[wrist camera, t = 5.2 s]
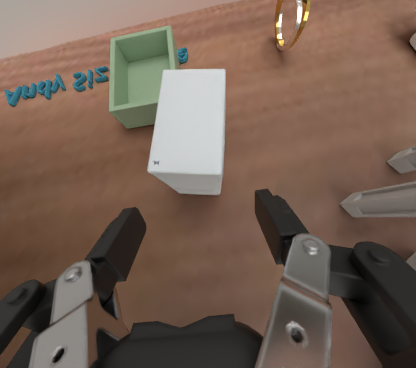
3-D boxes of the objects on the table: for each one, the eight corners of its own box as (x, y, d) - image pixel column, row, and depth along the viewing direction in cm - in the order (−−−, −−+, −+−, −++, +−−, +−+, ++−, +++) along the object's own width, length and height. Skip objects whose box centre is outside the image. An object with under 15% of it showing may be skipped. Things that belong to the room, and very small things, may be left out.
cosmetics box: (222, 195, 22) (223, 175, 11) (178, 193, 22) (142, 173, 12) (225, 130, 24) (227, 64, 14) (185, 130, 24) (158, 67, 14)
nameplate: (9, 88, 30) (6, 109, 29) (4, 85, 30) (0, 106, 28) (186, 47, 28) (190, 67, 27) (185, 42, 28) (189, 63, 27)
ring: (264, 34, 27) (281, -39, 20) (282, 30, 27) (306, -45, 19) (274, 63, 26) (298, -3, 18) (293, 59, 26) (325, -10, 18)
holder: (127, 129, 26) (108, 111, 21) (126, 64, 29) (110, 37, 25) (185, 118, 25) (178, 98, 21) (178, 53, 28) (170, 24, 24)
